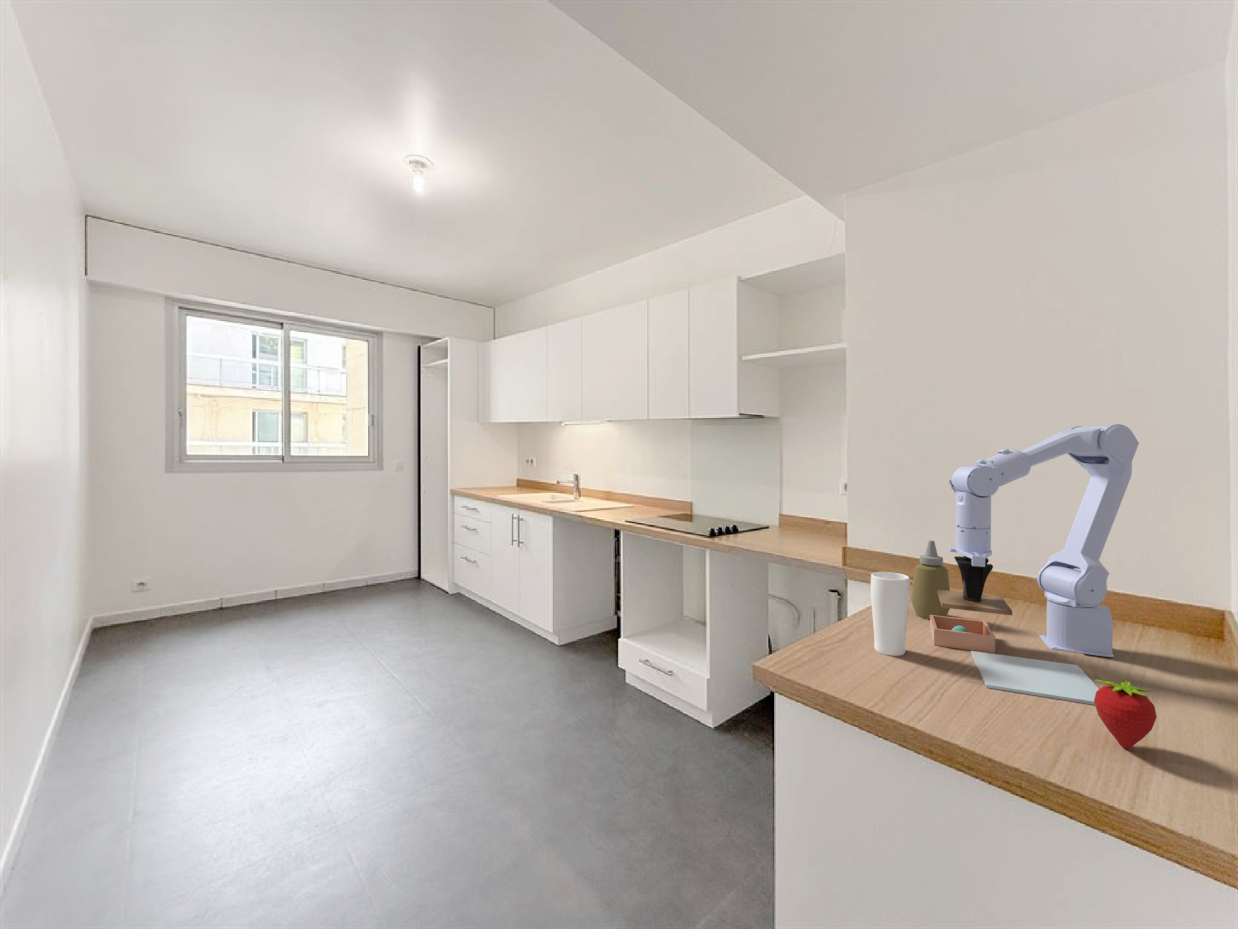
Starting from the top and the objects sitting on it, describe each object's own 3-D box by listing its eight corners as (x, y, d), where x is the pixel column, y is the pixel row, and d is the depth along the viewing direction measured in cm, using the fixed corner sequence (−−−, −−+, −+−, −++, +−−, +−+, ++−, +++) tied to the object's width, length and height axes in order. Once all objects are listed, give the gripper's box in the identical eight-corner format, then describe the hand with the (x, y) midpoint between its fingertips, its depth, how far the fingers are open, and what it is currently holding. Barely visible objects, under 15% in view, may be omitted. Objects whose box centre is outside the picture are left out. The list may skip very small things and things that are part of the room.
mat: (1077, 668, 93) (1077, 665, 93) (1113, 708, 79) (1113, 704, 79) (970, 653, 101) (970, 650, 101) (986, 687, 86) (986, 684, 86)
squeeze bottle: (951, 616, 123) (952, 539, 122) (951, 626, 116) (952, 545, 115) (911, 610, 127) (912, 537, 127) (909, 619, 120) (910, 542, 120)
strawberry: (1094, 751, 68) (1095, 676, 68) (1092, 728, 74) (1093, 658, 73) (1159, 769, 64) (1161, 689, 64) (1151, 743, 70) (1153, 669, 69)
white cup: (914, 660, 97) (915, 580, 97) (875, 658, 99) (876, 579, 98) (902, 647, 104) (903, 572, 104) (866, 644, 105) (866, 571, 105)
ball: (967, 639, 107) (967, 624, 107) (970, 644, 104) (970, 629, 104) (950, 637, 108) (950, 622, 108) (952, 641, 106) (952, 627, 106)
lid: (1000, 599, 106) (1001, 578, 105) (1012, 615, 96) (1012, 592, 96) (937, 593, 111) (937, 573, 110) (941, 607, 101) (942, 585, 101)
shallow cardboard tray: (985, 637, 109) (985, 621, 109) (994, 654, 100) (995, 636, 100) (929, 630, 113) (929, 614, 113) (934, 646, 104) (934, 629, 104)
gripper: (945, 521, 111) (944, 584, 111) (953, 531, 98) (952, 602, 98) (985, 523, 108) (984, 588, 108) (999, 533, 95) (998, 607, 95)
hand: (972, 595), depth 103 cm, fingers closed on lid, 3 cm apart
